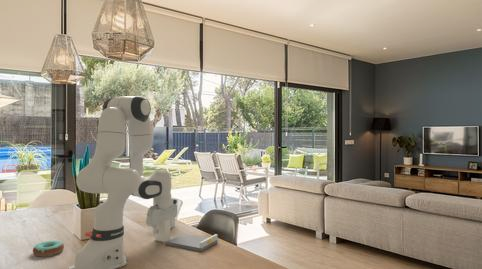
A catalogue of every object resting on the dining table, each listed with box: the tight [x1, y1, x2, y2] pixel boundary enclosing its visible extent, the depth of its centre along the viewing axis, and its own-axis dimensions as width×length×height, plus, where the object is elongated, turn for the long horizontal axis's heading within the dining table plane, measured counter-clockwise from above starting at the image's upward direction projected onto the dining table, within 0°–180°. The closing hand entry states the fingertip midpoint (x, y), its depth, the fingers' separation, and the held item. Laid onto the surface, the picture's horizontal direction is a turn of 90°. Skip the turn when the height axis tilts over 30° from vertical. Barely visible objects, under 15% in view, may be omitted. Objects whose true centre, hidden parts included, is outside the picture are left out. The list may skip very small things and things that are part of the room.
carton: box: [154, 219, 171, 243], centre depth 167 cm, size 6×4×10 cm
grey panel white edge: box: [165, 233, 218, 252], centre depth 162 cm, size 14×20×4 cm
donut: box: [32, 240, 65, 258], centre depth 148 cm, size 12×12×4 cm
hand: (162, 230), depth 168 cm, fingers open, 8 cm apart
